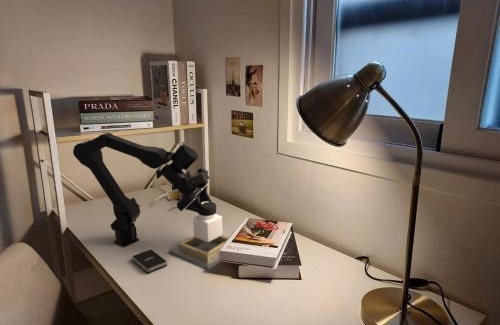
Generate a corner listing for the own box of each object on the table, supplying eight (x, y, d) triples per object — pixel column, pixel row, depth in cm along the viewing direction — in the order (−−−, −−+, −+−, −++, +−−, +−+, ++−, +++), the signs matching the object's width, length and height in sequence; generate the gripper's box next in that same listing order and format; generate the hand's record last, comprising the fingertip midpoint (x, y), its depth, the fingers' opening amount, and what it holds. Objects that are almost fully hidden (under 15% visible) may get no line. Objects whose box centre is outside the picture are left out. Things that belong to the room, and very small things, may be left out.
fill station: (208, 269, 108) (207, 260, 107) (168, 253, 118) (167, 244, 117) (243, 246, 122) (243, 238, 121) (205, 233, 132) (204, 225, 131)
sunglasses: (193, 202, 164) (191, 192, 162) (169, 217, 153) (167, 207, 151) (172, 196, 172) (170, 187, 170) (148, 210, 160) (146, 201, 159)
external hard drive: (151, 254, 118) (151, 248, 118) (168, 267, 110) (167, 261, 110) (131, 261, 114) (131, 256, 113) (147, 275, 106) (147, 269, 105)
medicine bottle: (223, 235, 122) (222, 202, 119) (208, 242, 116) (206, 209, 113) (208, 229, 126) (207, 198, 123) (193, 236, 121) (191, 204, 118)
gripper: (184, 170, 106) (221, 206, 107) (201, 156, 124) (232, 187, 125) (161, 193, 109) (197, 228, 110) (181, 176, 127) (212, 206, 128)
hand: (211, 211), depth 119 cm, fingers closed on medicine bottle, 6 cm apart
